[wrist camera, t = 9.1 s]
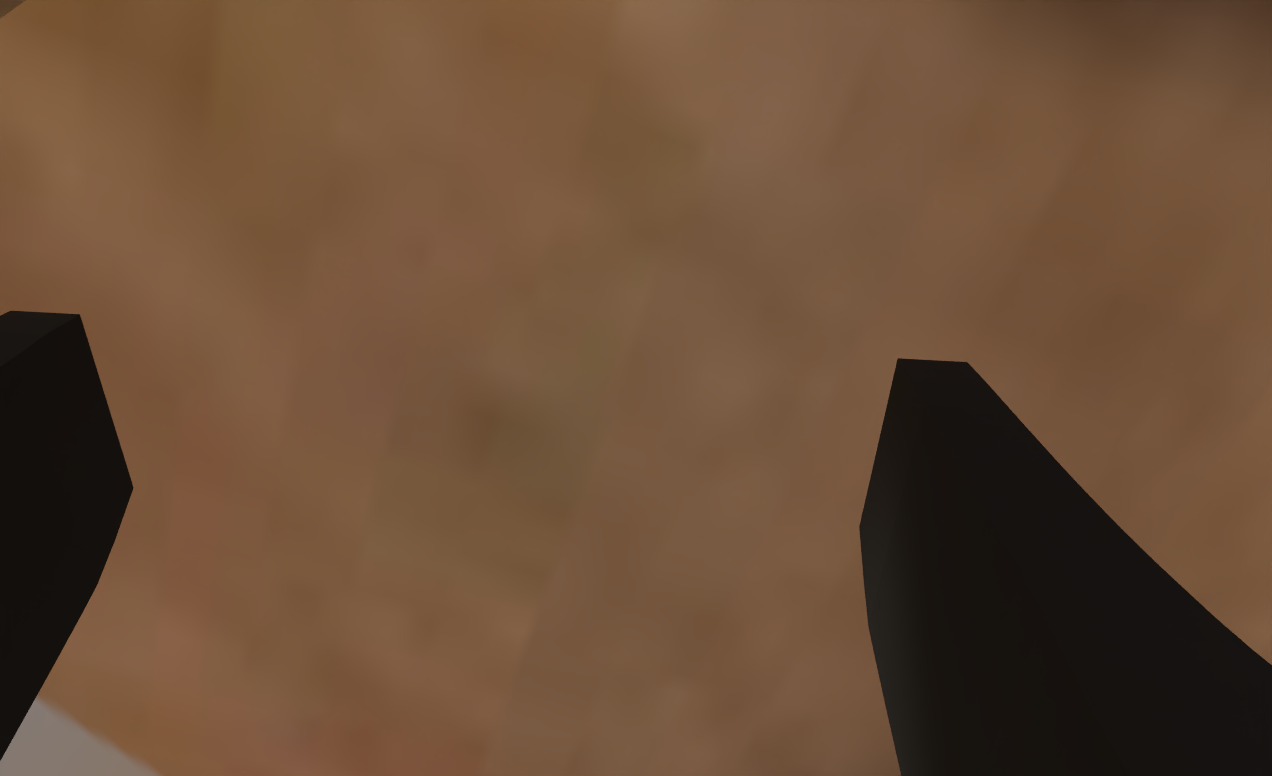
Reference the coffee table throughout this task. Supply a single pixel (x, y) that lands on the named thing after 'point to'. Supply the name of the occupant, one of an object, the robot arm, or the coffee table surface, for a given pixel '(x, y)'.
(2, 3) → the walls
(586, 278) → the coffee table surface
